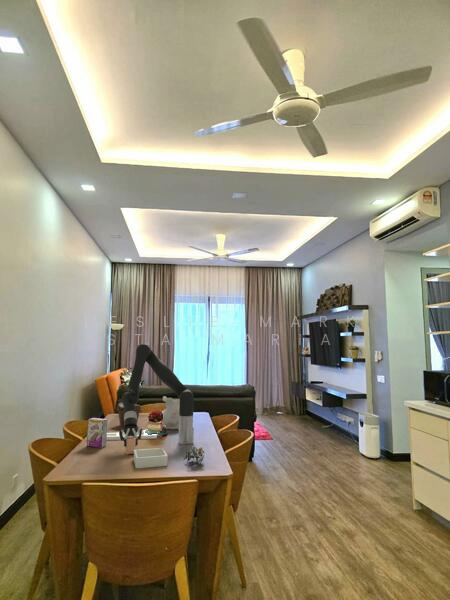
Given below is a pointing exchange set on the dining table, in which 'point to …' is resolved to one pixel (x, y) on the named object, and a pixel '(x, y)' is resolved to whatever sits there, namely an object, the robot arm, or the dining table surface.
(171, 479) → the dining table surface
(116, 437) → the holder
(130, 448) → the tub
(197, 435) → the dining table surface
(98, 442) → the candy bar box
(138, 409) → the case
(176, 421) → the ceramic pitcher
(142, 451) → the tray
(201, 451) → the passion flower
